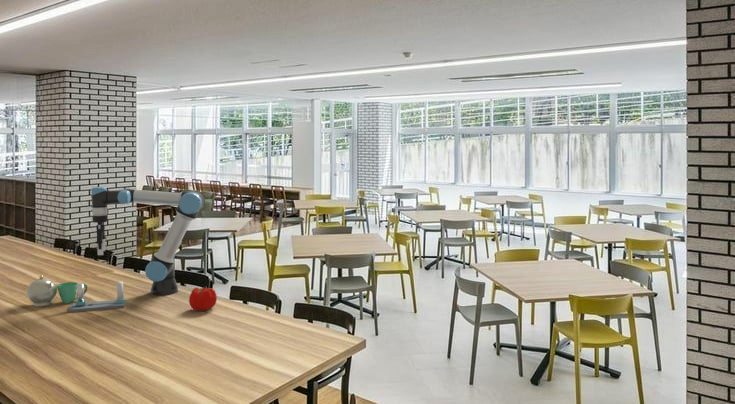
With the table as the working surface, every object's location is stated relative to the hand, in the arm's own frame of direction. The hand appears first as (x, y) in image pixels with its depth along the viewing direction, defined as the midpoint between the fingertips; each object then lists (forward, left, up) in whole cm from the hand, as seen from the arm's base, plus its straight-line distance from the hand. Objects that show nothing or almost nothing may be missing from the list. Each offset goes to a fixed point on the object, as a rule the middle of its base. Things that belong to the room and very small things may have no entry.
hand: (101, 252), depth 294 cm
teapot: (+30, +1, -27) cm, 40 cm away
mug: (+15, -1, -27) cm, 30 cm away
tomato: (-51, +37, -27) cm, 69 cm away
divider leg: (+9, +15, -24) cm, 30 cm away
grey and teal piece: (+1, +15, -26) cm, 31 cm away
